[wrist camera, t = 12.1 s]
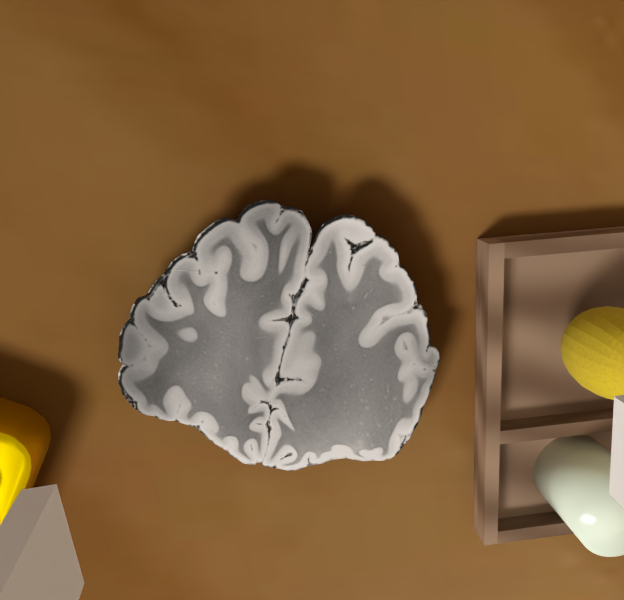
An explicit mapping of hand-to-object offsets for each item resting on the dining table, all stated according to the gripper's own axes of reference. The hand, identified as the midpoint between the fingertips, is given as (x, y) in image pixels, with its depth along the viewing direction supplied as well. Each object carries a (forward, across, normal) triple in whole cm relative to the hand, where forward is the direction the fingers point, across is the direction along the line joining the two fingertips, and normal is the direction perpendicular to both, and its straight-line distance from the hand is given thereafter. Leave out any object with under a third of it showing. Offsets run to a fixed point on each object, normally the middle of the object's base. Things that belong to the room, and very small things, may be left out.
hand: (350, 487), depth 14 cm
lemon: (+24, +19, -8) cm, 32 cm away
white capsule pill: (+24, +19, -18) cm, 35 cm away
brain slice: (+25, 0, -5) cm, 25 cm away
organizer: (+24, +19, -12) cm, 33 cm away
